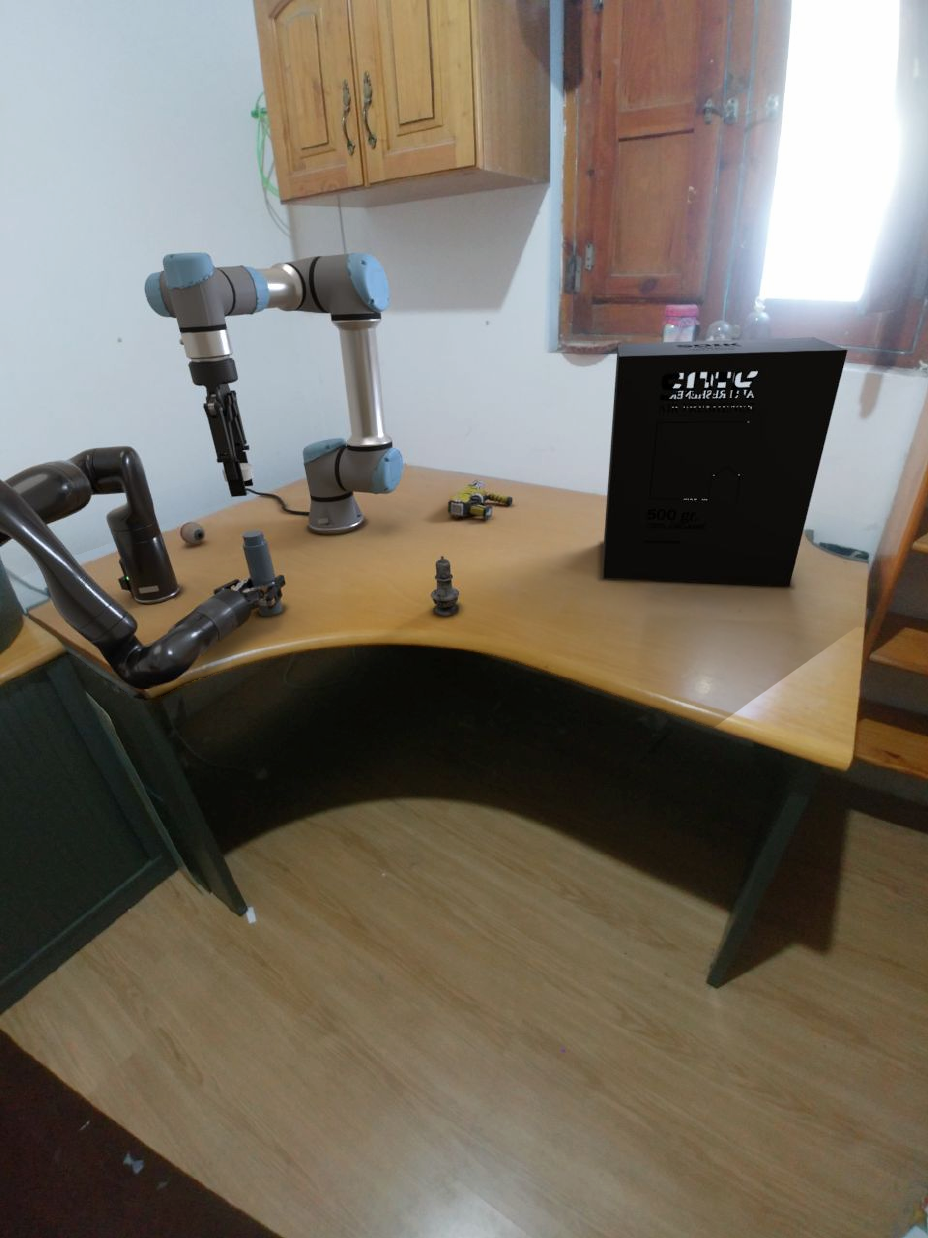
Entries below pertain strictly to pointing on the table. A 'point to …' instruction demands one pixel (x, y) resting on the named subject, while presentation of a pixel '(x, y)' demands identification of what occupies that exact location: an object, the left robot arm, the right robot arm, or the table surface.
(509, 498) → the toy gun
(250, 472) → the white cylinder
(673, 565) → the cardboard box
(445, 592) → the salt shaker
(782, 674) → the table surface
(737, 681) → the table surface
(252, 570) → the bottle
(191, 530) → the eyeball
